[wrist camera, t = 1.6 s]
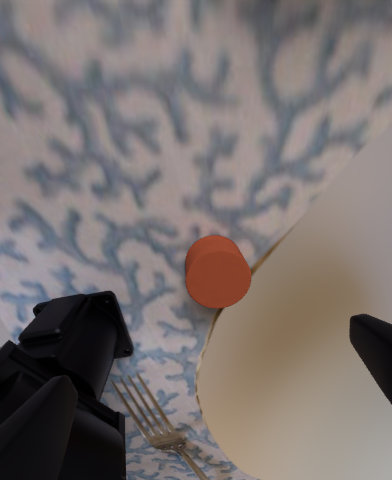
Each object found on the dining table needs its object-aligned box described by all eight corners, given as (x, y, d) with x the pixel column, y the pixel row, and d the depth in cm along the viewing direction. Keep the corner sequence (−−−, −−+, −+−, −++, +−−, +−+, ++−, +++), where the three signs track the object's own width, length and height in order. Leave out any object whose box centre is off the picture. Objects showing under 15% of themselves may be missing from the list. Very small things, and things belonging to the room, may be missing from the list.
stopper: (244, 280, 19) (254, 302, 16) (191, 290, 19) (192, 313, 16) (237, 230, 18) (248, 244, 15) (180, 240, 18) (179, 257, 15)
